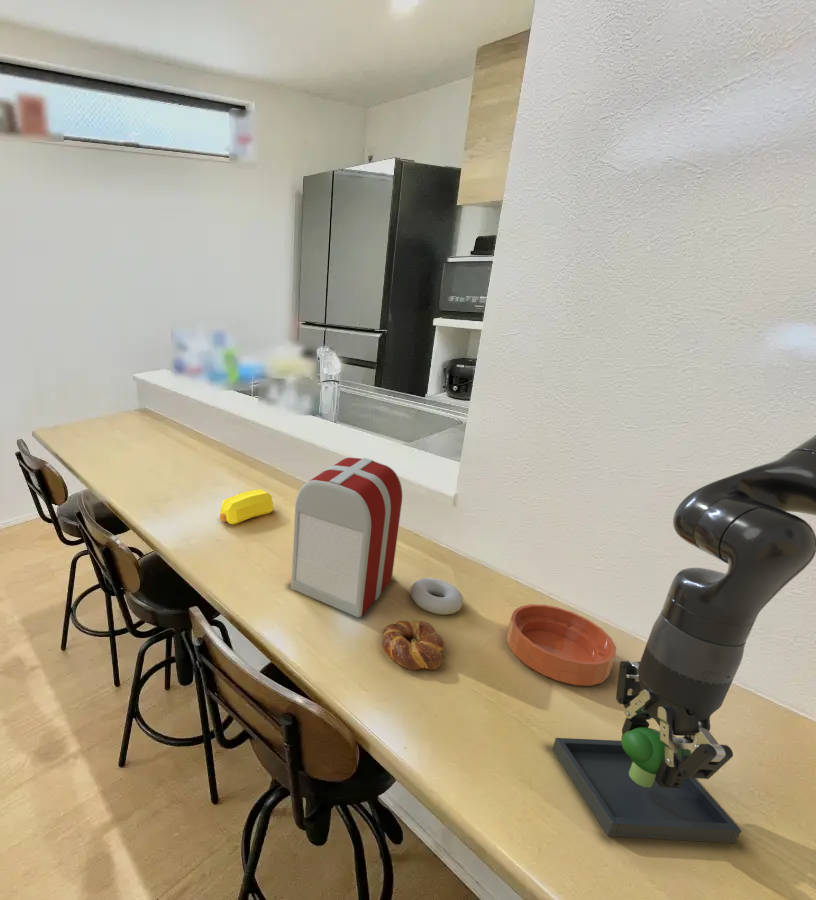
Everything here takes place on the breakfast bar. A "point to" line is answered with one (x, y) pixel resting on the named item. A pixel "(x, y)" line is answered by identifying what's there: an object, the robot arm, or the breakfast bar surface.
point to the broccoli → (644, 754)
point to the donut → (438, 605)
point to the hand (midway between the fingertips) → (647, 761)
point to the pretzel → (413, 644)
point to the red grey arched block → (347, 534)
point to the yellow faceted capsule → (246, 506)
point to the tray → (640, 797)
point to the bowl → (561, 644)
